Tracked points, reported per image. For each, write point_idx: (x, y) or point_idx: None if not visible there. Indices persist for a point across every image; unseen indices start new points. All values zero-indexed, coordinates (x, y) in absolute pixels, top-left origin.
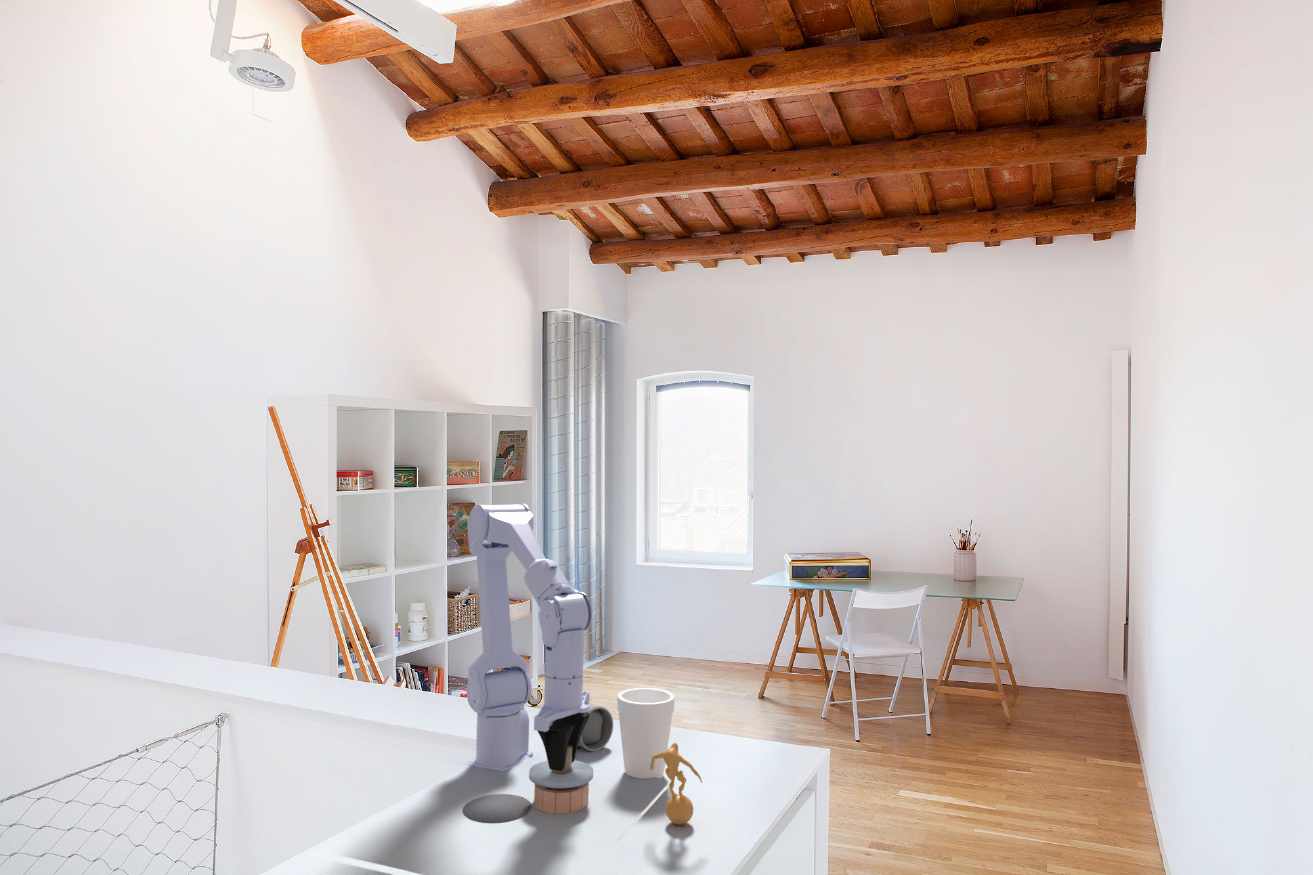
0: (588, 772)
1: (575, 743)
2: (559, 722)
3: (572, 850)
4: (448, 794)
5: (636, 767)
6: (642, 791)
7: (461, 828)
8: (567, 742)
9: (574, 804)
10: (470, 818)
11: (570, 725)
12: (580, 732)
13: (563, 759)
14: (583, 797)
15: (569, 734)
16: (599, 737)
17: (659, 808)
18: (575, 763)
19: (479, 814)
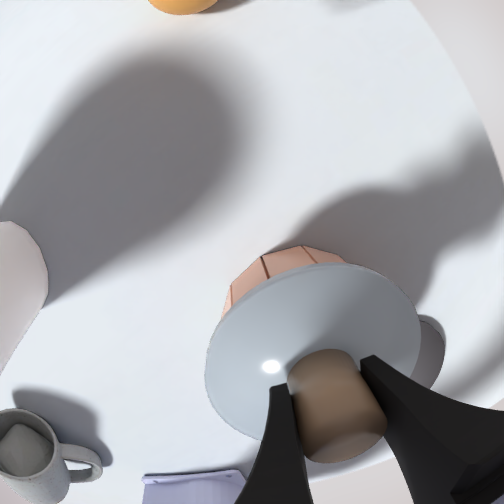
0: (279, 302)
1: (294, 436)
2: (493, 488)
3: (452, 142)
4: (355, 457)
5: (25, 273)
6: (74, 203)
7: (450, 363)
8: (431, 414)
9: (336, 261)
10: (437, 375)
11: (481, 469)
12: (277, 474)
13: (399, 373)
14: (304, 260)
15: (463, 433)
16: (16, 426)
17: (134, 87)
18: (233, 388)
19: (421, 379)
